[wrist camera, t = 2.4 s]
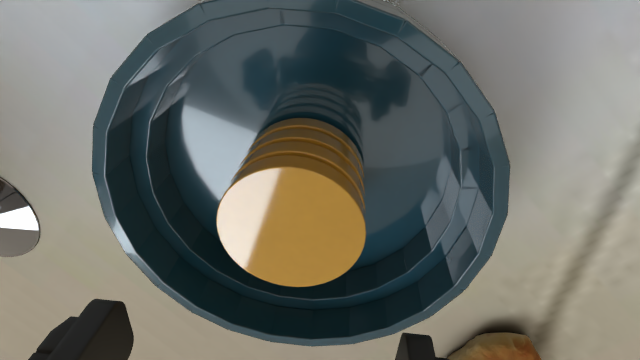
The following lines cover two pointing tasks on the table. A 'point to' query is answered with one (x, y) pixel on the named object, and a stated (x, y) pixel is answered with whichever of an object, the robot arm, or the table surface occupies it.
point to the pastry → (497, 348)
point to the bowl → (314, 103)
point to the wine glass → (16, 223)
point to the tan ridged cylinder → (296, 205)
